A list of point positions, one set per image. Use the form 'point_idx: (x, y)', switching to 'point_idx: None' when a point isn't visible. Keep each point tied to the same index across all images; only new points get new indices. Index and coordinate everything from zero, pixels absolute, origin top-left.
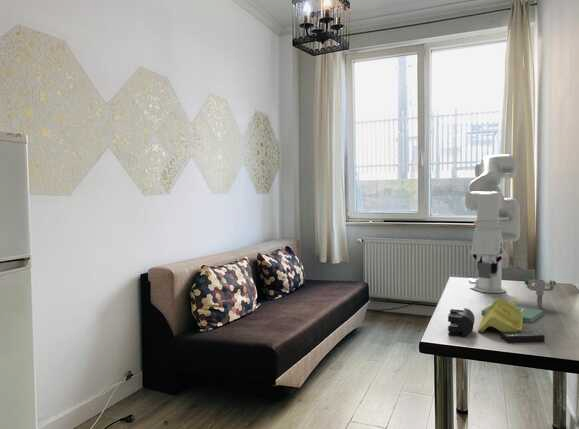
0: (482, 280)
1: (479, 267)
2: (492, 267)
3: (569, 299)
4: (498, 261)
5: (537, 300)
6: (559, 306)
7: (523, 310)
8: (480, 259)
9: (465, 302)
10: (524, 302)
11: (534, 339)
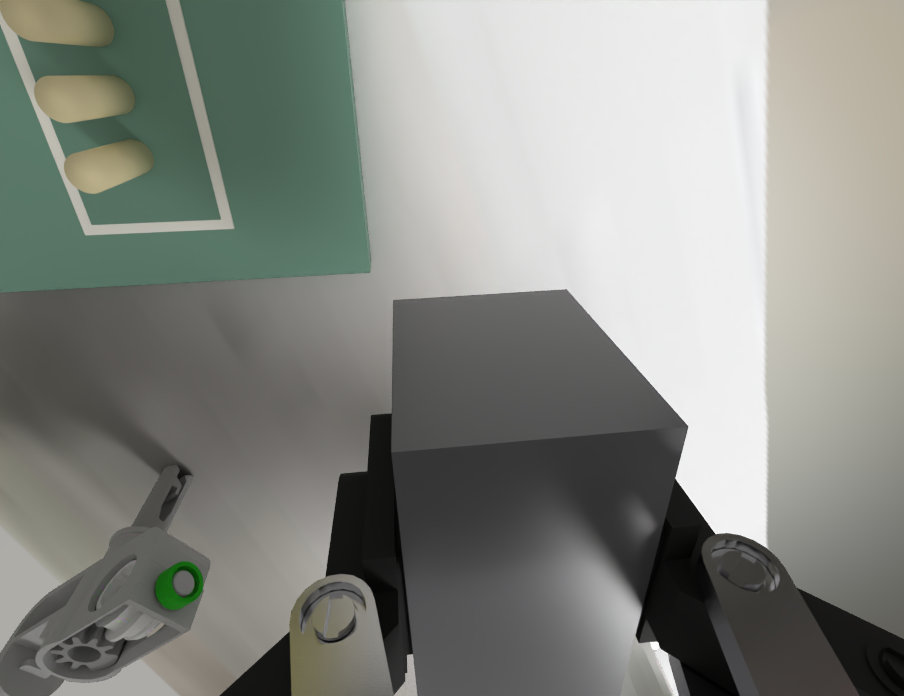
0: None
1: (613, 370)
2: (385, 484)
3: (174, 670)
4: (272, 666)
5: (176, 501)
6: (104, 539)
7: (54, 172)
8: (698, 621)
9: (604, 244)
10: (295, 497)
11: None
